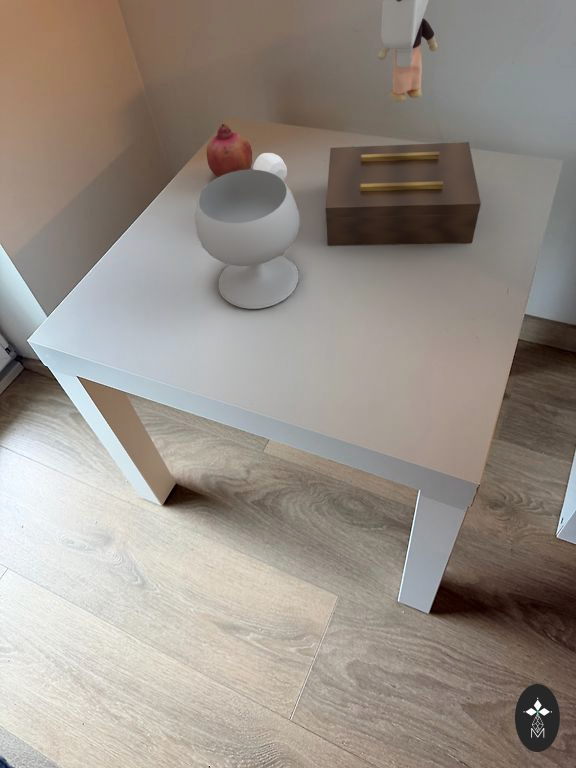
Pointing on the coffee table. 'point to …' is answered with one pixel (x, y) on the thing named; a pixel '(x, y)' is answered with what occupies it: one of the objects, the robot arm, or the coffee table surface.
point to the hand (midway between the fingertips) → (407, 56)
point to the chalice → (250, 236)
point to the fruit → (228, 152)
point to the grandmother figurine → (410, 76)
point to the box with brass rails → (401, 194)
